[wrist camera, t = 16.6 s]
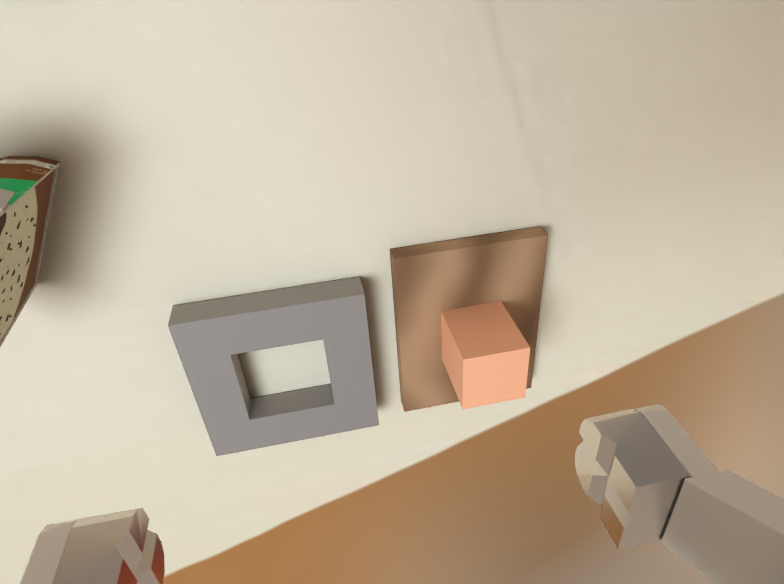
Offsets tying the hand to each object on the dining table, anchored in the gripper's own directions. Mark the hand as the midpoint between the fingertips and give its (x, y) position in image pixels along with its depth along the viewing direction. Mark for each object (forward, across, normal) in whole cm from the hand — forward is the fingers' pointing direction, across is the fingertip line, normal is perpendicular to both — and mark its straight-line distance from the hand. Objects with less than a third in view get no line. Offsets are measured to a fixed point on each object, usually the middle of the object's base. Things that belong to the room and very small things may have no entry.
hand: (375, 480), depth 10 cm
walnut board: (+29, -11, +20) cm, 37 cm away
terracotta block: (+28, -11, +20) cm, 36 cm away
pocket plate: (+29, +4, +21) cm, 36 cm away
